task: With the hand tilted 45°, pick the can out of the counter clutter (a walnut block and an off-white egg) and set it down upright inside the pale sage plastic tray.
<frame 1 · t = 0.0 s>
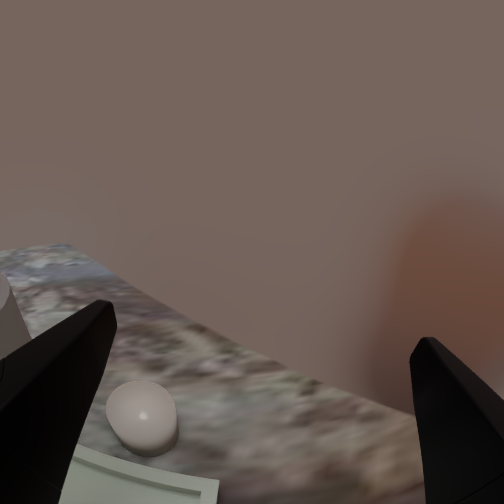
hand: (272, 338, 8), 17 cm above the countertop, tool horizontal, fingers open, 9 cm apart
can: (19, 389, 19), on the countertop
off-white egg: (147, 429, 20), on the countertop
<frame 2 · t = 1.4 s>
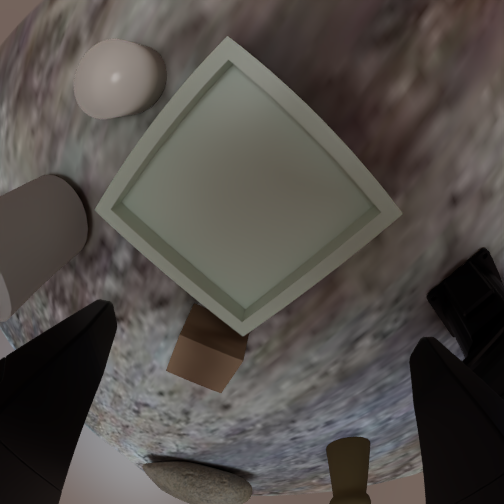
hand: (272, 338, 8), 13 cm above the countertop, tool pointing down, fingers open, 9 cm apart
rock: (200, 468, 44), on the countertop
can: (62, 212, 23), on the countertop
off-white egg: (133, 79, 17), on the countertop
walnut block: (213, 333, 26), on the countertop
tray: (242, 195, 20), on the countertop
cork: (348, 445, 34), on the countertop
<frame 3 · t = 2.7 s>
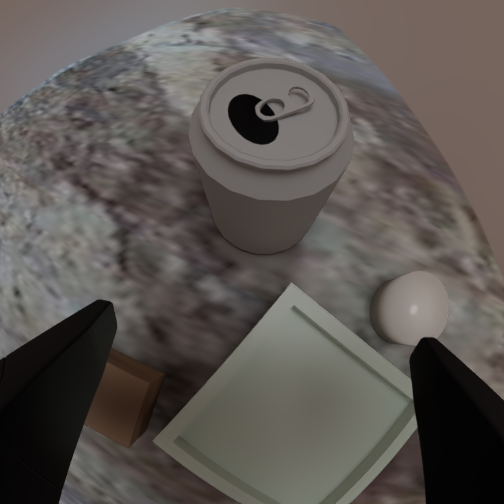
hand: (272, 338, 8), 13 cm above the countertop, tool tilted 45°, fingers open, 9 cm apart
can: (262, 208, 23), on the countertop
off-white egg: (398, 311, 21), on the countertop
walnut block: (125, 388, 20), on the countertop
tray: (298, 422, 19), on the countertop
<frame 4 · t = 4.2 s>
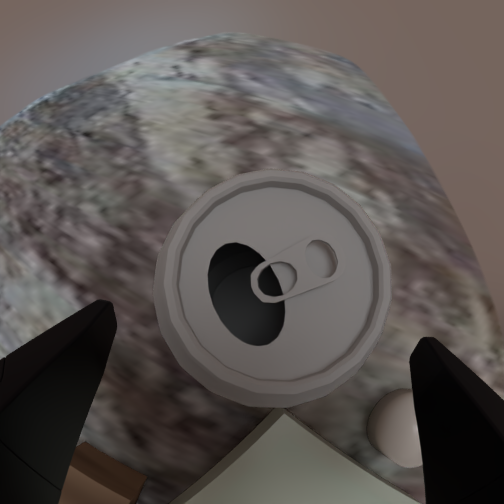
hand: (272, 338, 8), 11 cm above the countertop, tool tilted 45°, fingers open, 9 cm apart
can: (256, 312, 19), on the countertop
off-white egg: (397, 421, 17), on the countertop
walnut block: (107, 482, 15), on the countertop
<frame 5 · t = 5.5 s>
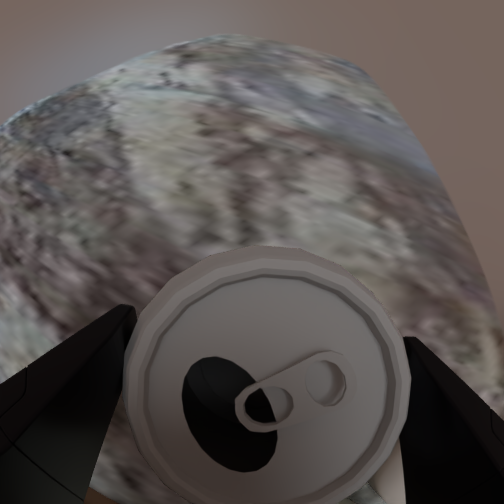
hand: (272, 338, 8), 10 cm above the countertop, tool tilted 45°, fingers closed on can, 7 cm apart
can: (251, 359, 17), on the countertop, touching gripper
off-white egg: (398, 462, 15), on the countertop
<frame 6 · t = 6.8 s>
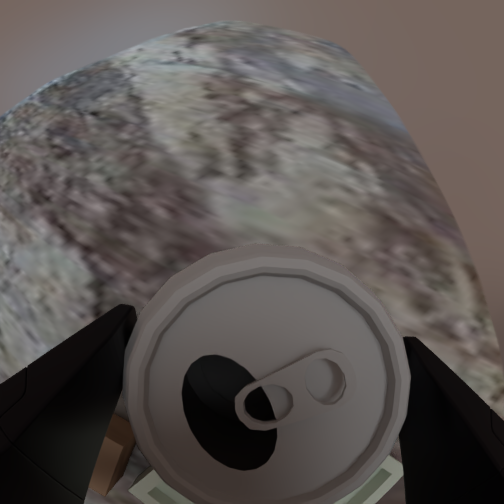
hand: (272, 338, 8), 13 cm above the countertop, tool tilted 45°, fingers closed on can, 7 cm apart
can: (251, 357, 17), point 3 cm above the countertop, touching gripper
walnut block: (103, 436, 18), on the countertop
tray: (270, 480, 18), on the countertop
when the fingers open (12 cm above the countertop, at t = 8.3 s): can drops 1 cm, resting on tray.
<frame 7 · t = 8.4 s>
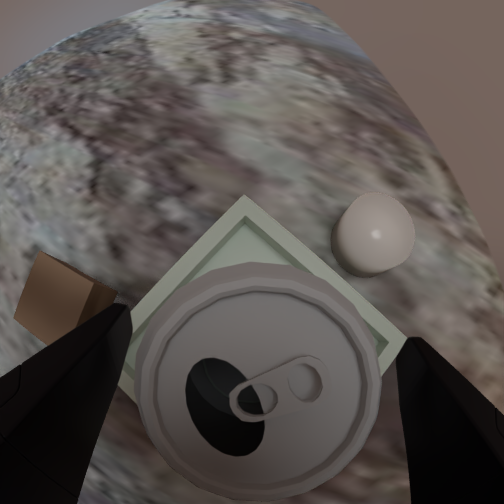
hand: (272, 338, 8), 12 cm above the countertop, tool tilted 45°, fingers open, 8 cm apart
can: (250, 357, 18), point 1 cm above the countertop, touching tray
off-white egg: (362, 243, 21), on the countertop
walnut block: (78, 308, 20), on the countertop
tray: (251, 354, 19), on the countertop
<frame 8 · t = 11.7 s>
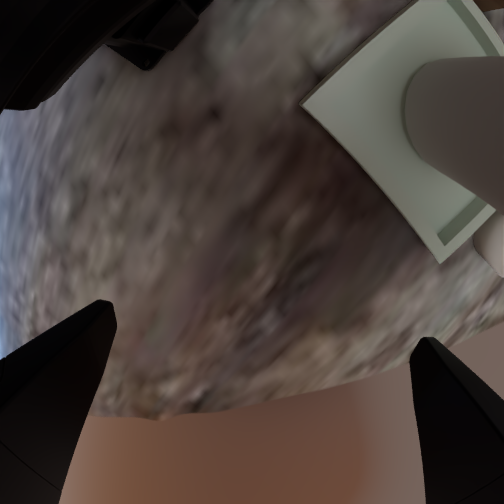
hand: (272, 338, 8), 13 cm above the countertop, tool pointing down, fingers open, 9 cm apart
can: (447, 115, 15), point 1 cm above the countertop, touching tray
off-white egg: (494, 229, 19), on the countertop
tray: (443, 115, 16), on the countertop
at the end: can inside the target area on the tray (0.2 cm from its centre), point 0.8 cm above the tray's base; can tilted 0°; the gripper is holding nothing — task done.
